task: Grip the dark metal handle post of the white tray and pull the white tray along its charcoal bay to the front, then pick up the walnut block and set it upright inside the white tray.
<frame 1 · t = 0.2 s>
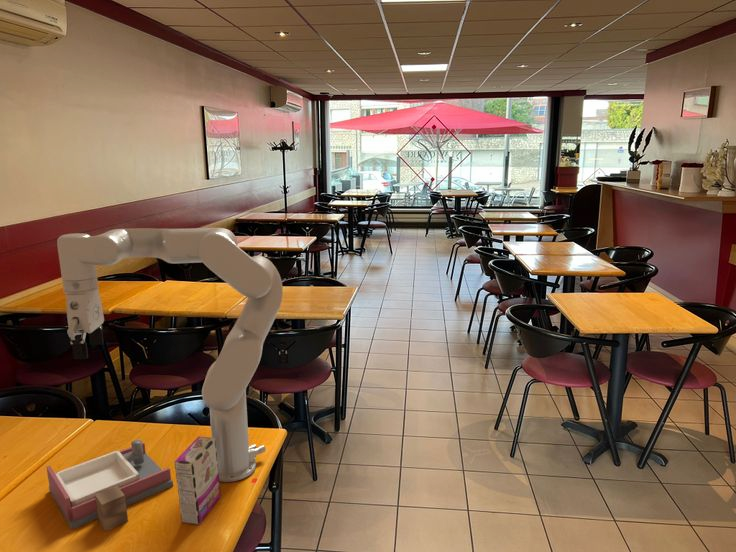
hand: (89, 351, 133), 36 cm above the table, tool pointing down, fingers open, 9 cm apart
bay: (111, 488, 138), on the table
candy bar box: (201, 510, 130), on the table
walnut block: (113, 521, 126), on the table
white tray: (106, 471, 137), point 5 cm above the table, slide at 0.0 cm
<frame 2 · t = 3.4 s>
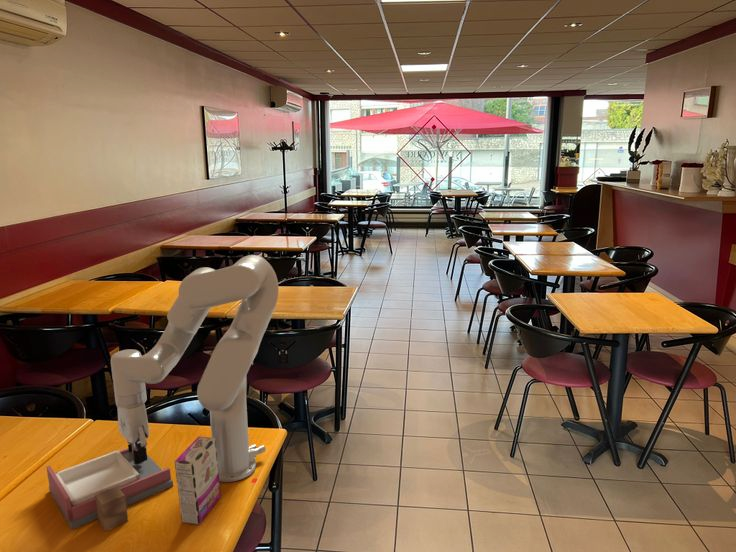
hand: (138, 458, 145), 4 cm above the table, tool pointing down, fingers closed on white tray, 3 cm apart
white tray: (106, 471, 137), point 5 cm above the table, slide at 0.0 cm, touching gripper
everything else where it was.
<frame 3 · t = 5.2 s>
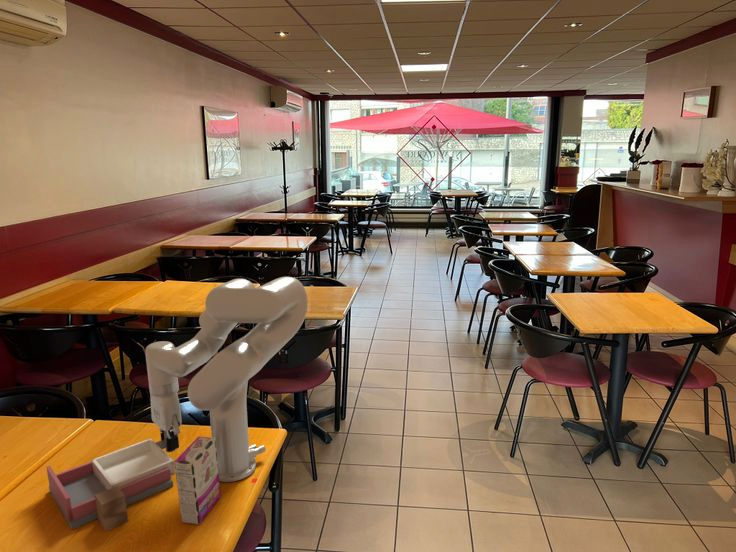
hand: (170, 446, 151), 4 cm above the table, tool pointing down, fingers closed on white tray, 3 cm apart
white tray: (142, 458, 143), point 5 cm above the table, slide at 8.9 cm, touching gripper
everything else where it was.
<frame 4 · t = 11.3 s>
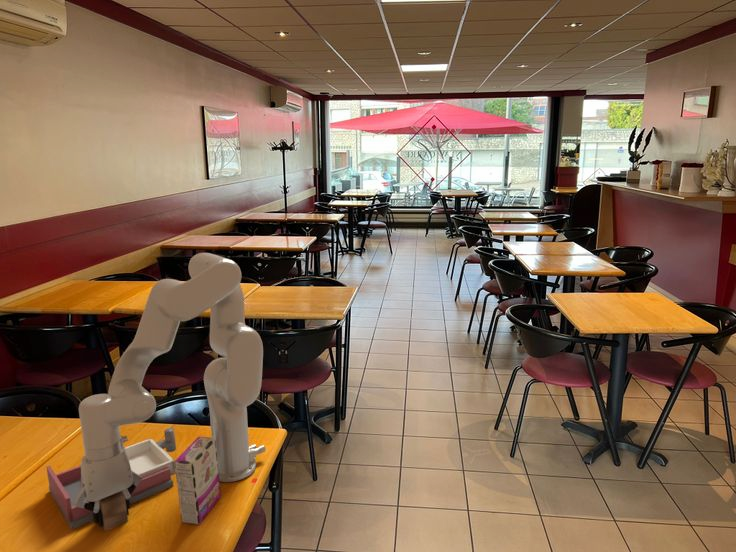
hand: (112, 517, 126), 1 cm above the table, tool pointing down, fingers closed on walnut block, 5 cm apart
walnut block: (113, 521, 126), on the table, touching gripper
white tray: (142, 458, 143), point 5 cm above the table, slide at 9.0 cm
everything else where it was.
when the fingers open (5 cm above the table, at t = 17.3 s): walnut block drops 2 cm, resting on white tray.
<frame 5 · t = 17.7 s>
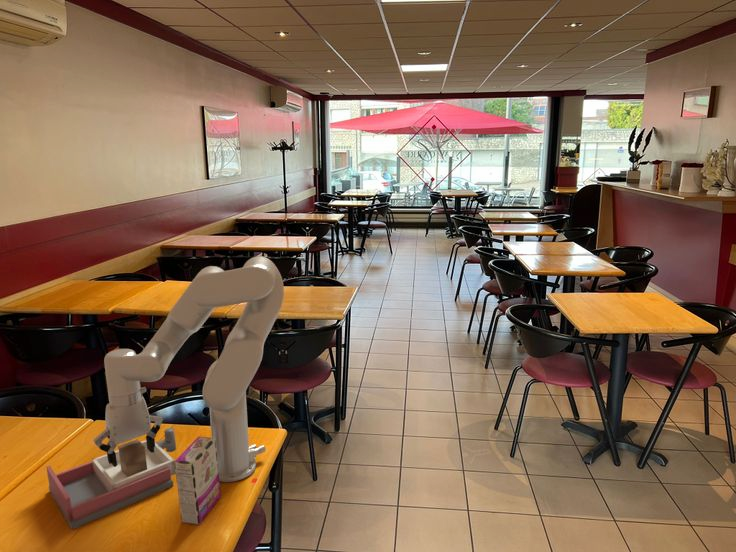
hand: (132, 457, 141), 6 cm above the table, tool pointing down, fingers open, 9 cm apart
walnut block: (134, 470, 142), point 3 cm above the table, touching white tray
white tray: (142, 458, 143), point 5 cm above the table, slide at 9.0 cm, touching walnut block
everything else where it was.
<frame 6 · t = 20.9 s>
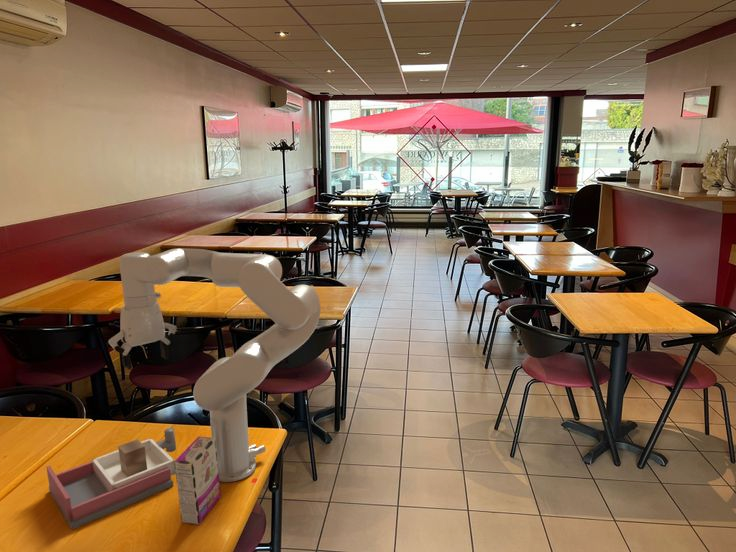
hand: (147, 362, 141), 30 cm above the table, tool pointing down, fingers open, 9 cm apart
nothing on the table moved.
at the end: white tray slide at 9.0 cm; walnut block inside the target area on the white tray (0.0 cm from its centre), point 1.0 cm above the white tray's base; walnut block tilted 0° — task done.
